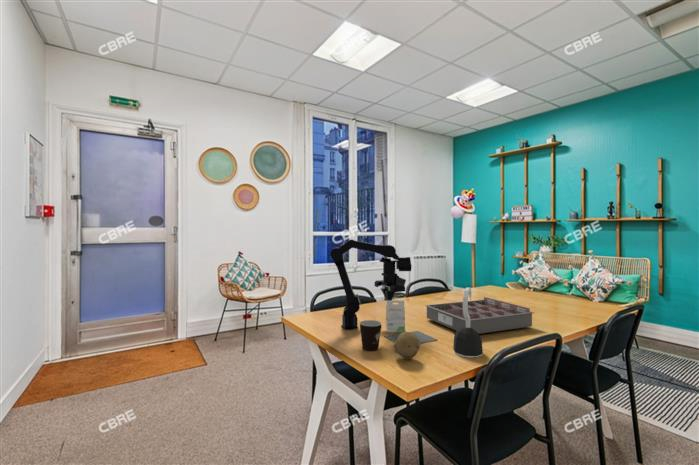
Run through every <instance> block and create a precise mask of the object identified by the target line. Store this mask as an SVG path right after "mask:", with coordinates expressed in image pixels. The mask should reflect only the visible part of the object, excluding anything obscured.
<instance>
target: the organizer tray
mask: <svg viewBox="0 0 699 465" xmlns="http://www.w3.org/2000/svg"><path fill="white" fill-rule="evenodd" d="M424 306H425V307H426V319H428V320H431V321H433V322H435V323H437V324H440V325H442V326H443V327H447V328H449V329H452V330H454V331H456V332H457V330H459V329H461V328H463V327H466V319H465V318H464V315H463V301H459V302H458V301H456V302H447V303H446V302H445V303H444V302H443V303H434V304H426V305H424ZM468 314H469V316H470V327H471V328H473V329H475V330H476V331H477V332H478V334H479V335H480V334H485V333H495V332H500V331H507V330H514V329H515V330H516V329H522V328H523V329H524V328H528V327H529V328H530V327H533V314H535V312H534V311H531V308H530V307H526V306H522V305H520V304H519V305H518V304H515V303H512V302H506V301H503V300H500V299H499V300H498V299H494V298H490V297H488V296H483V299H477V300H468Z"/></svg>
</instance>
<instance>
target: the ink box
mask: <svg viewBox="0 0 699 465" xmlns="http://www.w3.org/2000/svg"><path fill="white" fill-rule="evenodd" d="M395 303H396V304H395ZM405 312H406V310H405V300H397V299H395V300H394V299H392V300H387V301H386V305H385V328H386V333H399V334H400V333H403V332H406V313H405Z"/></svg>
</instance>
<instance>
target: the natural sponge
mask: <svg viewBox="0 0 699 465" xmlns="http://www.w3.org/2000/svg"><path fill="white" fill-rule="evenodd" d="M411 332H412V331H405V332H403V333H401V334H400V333H399V334H400V335H399V337H398V338H397V340H396V342H394V345H393V348H394V351H395V353H397V355H399V356H400V357H401V358H403V359H405V360H410V359H412V358H414V357H415V356H416V355H417V354H418V352H419V351H420V349H421V348H420V347H421V343H419V340H418V338H417V336H416V335H415V334H413V333H411Z"/></svg>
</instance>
